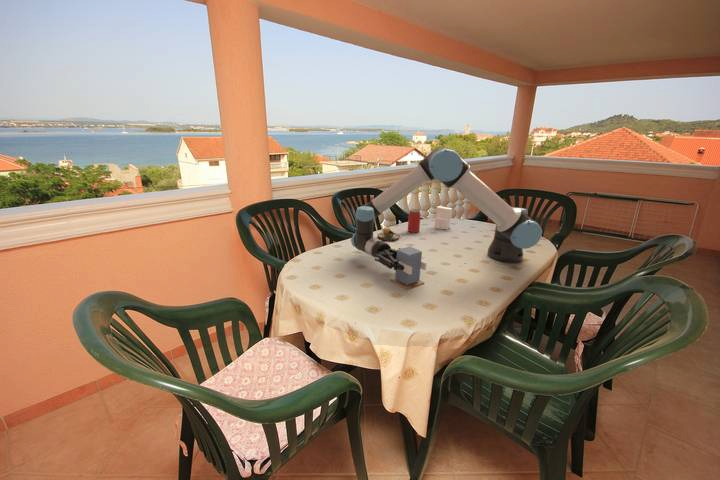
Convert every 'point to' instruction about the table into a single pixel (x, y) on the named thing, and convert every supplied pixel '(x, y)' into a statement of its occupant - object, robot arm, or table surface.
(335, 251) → the table surface
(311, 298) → the table surface
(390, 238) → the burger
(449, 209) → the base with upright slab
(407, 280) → the notched grey prism
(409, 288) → the post
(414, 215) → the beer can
